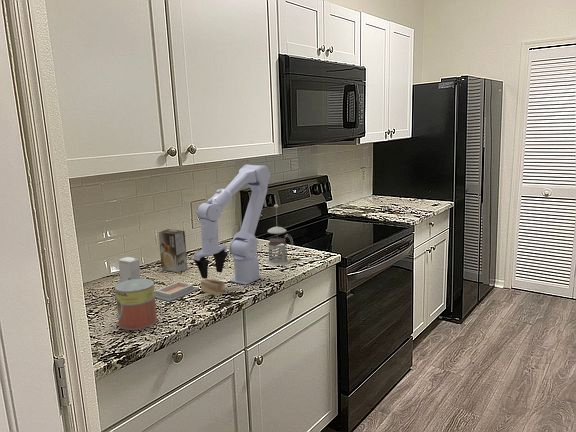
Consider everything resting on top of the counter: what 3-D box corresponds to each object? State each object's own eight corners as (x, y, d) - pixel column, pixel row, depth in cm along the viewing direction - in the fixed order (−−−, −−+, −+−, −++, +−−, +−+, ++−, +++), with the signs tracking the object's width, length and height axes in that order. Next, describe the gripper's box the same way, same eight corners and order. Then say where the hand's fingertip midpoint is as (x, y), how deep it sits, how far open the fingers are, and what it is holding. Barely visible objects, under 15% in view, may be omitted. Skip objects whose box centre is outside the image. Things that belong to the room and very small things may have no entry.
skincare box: (120, 292, 169) (117, 259, 167) (129, 288, 173) (126, 256, 171) (132, 294, 166) (129, 261, 164) (142, 290, 170) (139, 258, 168)
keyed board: (179, 284, 176) (179, 279, 175) (199, 289, 170) (198, 284, 170) (149, 296, 164) (149, 291, 164) (169, 302, 159) (168, 296, 158)
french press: (271, 257, 207) (269, 201, 202) (296, 259, 203) (295, 202, 198) (262, 264, 198) (260, 205, 193) (288, 266, 194) (287, 207, 189)
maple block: (209, 288, 171) (208, 277, 171) (225, 292, 167) (224, 281, 166) (201, 291, 168) (200, 280, 168) (217, 296, 164) (216, 285, 163)
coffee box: (188, 268, 195) (185, 230, 192) (178, 272, 189) (175, 234, 186) (171, 265, 199) (168, 228, 196) (160, 270, 194) (157, 232, 190)
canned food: (115, 319, 146) (111, 282, 143) (151, 311, 151) (148, 276, 149) (122, 333, 136) (118, 294, 134) (161, 324, 142) (158, 286, 139)
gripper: (215, 232, 172) (217, 267, 174) (186, 240, 160) (188, 278, 163) (230, 234, 168) (232, 270, 170) (201, 243, 156) (203, 282, 159)
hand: (212, 274), depth 166 cm, fingers open, 7 cm apart
